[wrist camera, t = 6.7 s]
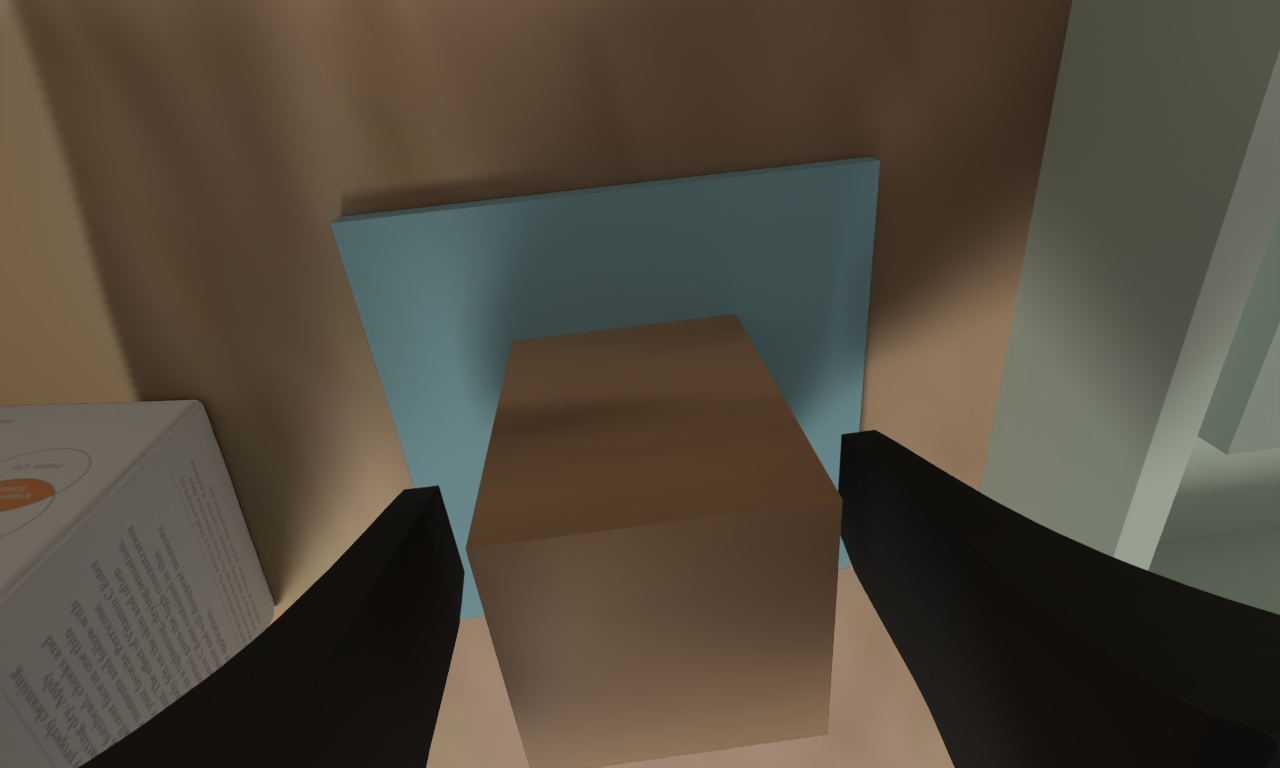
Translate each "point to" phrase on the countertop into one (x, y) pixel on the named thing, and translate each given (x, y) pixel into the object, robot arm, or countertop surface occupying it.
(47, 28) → the countertop surface
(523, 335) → the teal mat
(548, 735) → the walnut block
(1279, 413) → the crate
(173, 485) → the small box
